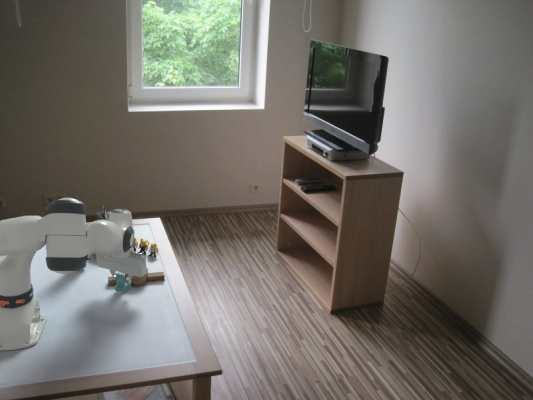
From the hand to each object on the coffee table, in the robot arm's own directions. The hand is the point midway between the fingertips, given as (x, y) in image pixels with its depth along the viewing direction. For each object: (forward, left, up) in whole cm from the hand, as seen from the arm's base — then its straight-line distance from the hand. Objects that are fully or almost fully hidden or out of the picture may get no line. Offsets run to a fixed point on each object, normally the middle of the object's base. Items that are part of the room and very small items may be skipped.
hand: (122, 281), depth 223 cm
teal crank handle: (+1, 0, -4) cm, 4 cm away
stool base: (+10, -6, -5) cm, 13 cm away
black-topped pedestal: (+55, +1, -5) cm, 55 cm away
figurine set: (+33, -12, -5) cm, 35 cm away
